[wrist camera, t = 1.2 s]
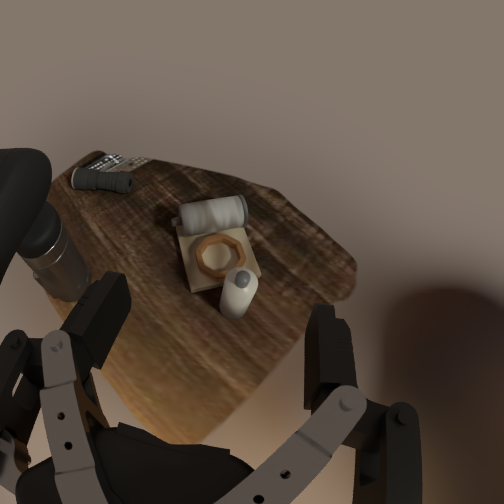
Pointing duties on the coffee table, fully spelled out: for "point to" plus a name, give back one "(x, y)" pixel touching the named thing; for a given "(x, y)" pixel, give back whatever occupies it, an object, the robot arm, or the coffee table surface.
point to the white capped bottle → (237, 292)
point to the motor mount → (214, 240)
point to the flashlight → (102, 180)
